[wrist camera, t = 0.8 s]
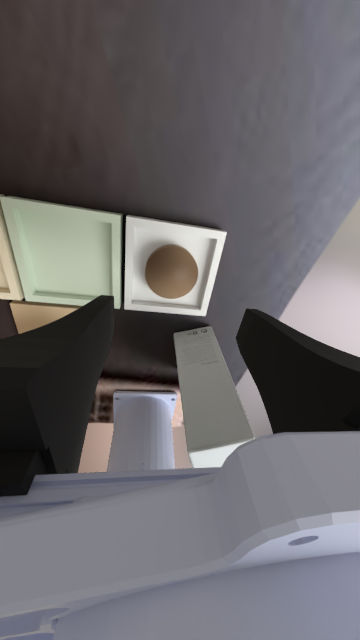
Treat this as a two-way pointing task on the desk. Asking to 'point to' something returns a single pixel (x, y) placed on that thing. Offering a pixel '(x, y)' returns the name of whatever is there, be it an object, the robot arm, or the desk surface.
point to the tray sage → (65, 251)
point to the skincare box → (208, 400)
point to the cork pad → (38, 313)
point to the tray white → (157, 233)
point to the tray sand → (8, 265)
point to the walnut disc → (171, 271)
